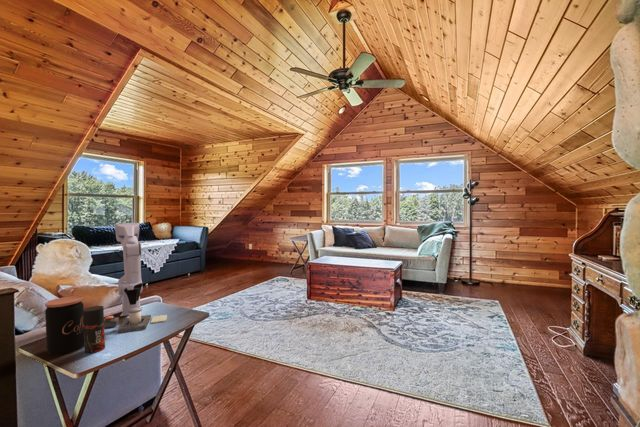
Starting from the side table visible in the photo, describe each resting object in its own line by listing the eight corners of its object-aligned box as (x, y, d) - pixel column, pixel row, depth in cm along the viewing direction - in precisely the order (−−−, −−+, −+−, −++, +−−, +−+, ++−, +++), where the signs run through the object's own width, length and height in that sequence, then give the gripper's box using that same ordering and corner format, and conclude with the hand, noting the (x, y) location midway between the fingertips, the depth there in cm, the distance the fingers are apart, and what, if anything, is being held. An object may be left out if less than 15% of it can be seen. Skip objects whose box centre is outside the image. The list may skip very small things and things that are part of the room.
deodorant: (94, 354, 107) (92, 311, 107) (80, 352, 108) (78, 310, 108) (109, 346, 113) (107, 306, 113) (95, 345, 114) (94, 305, 114)
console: (103, 324, 135) (102, 319, 135) (119, 322, 137) (118, 317, 137) (99, 328, 130) (99, 323, 130) (116, 326, 132) (115, 320, 132)
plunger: (106, 324, 134) (105, 316, 134) (114, 322, 136) (114, 315, 135) (104, 326, 131) (103, 318, 131) (112, 325, 133) (112, 317, 132)
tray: (153, 317, 142) (153, 316, 142) (167, 315, 144) (167, 314, 144) (150, 323, 135) (150, 322, 135) (165, 321, 137) (165, 320, 137)
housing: (125, 321, 138) (125, 318, 138) (150, 317, 142) (150, 314, 142) (117, 333, 125) (117, 329, 125) (145, 328, 129) (145, 325, 129)
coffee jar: (64, 357, 106) (62, 305, 105) (38, 355, 107) (36, 304, 107) (92, 343, 116) (90, 296, 116) (68, 341, 118) (66, 295, 118)
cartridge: (130, 324, 135) (129, 308, 135) (142, 322, 137) (142, 306, 136) (127, 328, 130) (127, 311, 130) (140, 326, 132) (140, 310, 132)
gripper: (126, 269, 138) (127, 299, 139) (118, 275, 125) (119, 308, 125) (144, 267, 141) (145, 297, 141) (138, 273, 127) (139, 306, 128)
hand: (134, 302), depth 133 cm, fingers open, 5 cm apart
